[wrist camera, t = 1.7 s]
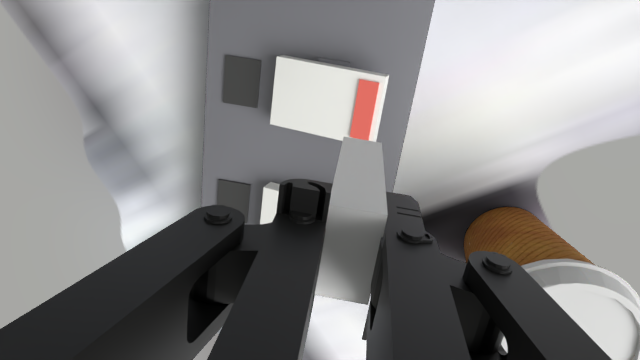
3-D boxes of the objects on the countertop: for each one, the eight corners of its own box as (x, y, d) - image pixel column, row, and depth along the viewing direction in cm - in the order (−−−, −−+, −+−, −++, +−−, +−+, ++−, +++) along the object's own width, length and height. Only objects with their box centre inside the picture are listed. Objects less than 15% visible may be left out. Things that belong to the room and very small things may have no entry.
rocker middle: (284, 54, 28) (275, 56, 27) (389, 74, 27) (385, 77, 25) (277, 120, 30) (268, 124, 29) (375, 143, 28) (371, 148, 27)
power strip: (233, -156, 27) (213, -180, 24) (456, -126, 27) (468, -146, 23) (212, 232, 38) (196, 255, 34) (372, 261, 37) (372, 287, 34)
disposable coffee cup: (442, 292, 38) (472, 410, 26) (443, 189, 34) (478, 276, 23) (560, 290, 36) (644, 414, 25) (573, 184, 33) (676, 273, 22)
